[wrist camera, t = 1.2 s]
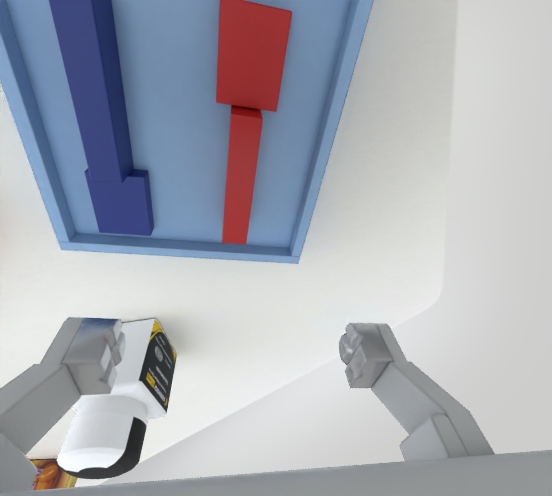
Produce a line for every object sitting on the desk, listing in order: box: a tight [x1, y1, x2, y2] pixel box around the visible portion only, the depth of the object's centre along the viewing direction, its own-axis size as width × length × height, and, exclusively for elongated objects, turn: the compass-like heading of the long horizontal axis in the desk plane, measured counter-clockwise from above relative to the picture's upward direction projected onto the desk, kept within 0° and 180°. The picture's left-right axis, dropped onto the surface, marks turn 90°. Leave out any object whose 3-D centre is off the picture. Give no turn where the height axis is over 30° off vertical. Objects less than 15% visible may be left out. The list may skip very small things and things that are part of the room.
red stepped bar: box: [216, 0, 292, 244], centre depth 18 cm, size 14×4×3 cm, turn 170°
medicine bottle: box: [57, 319, 177, 479], centre depth 28 cm, size 7×7×12 cm
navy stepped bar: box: [49, 0, 154, 236], centre depth 17 cm, size 14×4×3 cm, turn 170°
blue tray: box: [0, 0, 374, 264], centre depth 18 cm, size 20×19×2 cm
